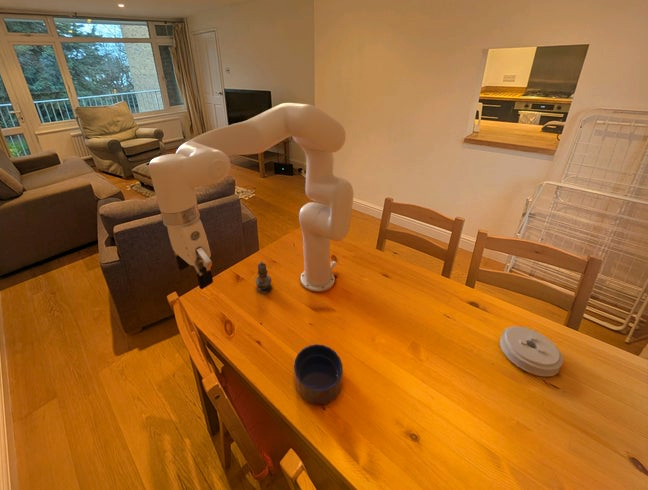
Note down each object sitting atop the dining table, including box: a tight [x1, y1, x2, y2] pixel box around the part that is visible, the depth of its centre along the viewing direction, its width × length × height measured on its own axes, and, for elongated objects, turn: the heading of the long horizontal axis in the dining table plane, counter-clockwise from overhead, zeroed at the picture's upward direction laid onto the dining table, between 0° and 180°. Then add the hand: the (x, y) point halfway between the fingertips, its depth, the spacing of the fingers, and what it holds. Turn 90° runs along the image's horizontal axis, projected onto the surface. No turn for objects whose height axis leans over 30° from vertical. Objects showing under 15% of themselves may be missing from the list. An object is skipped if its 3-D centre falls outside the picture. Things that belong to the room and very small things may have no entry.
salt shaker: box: [255, 261, 272, 294], centre depth 105 cm, size 6×6×12 cm
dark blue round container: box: [293, 344, 344, 406], centre depth 74 cm, size 12×12×6 cm
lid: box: [499, 325, 564, 378], centre depth 77 cm, size 13×13×5 cm
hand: (195, 275), depth 69 cm, fingers open, 9 cm apart
